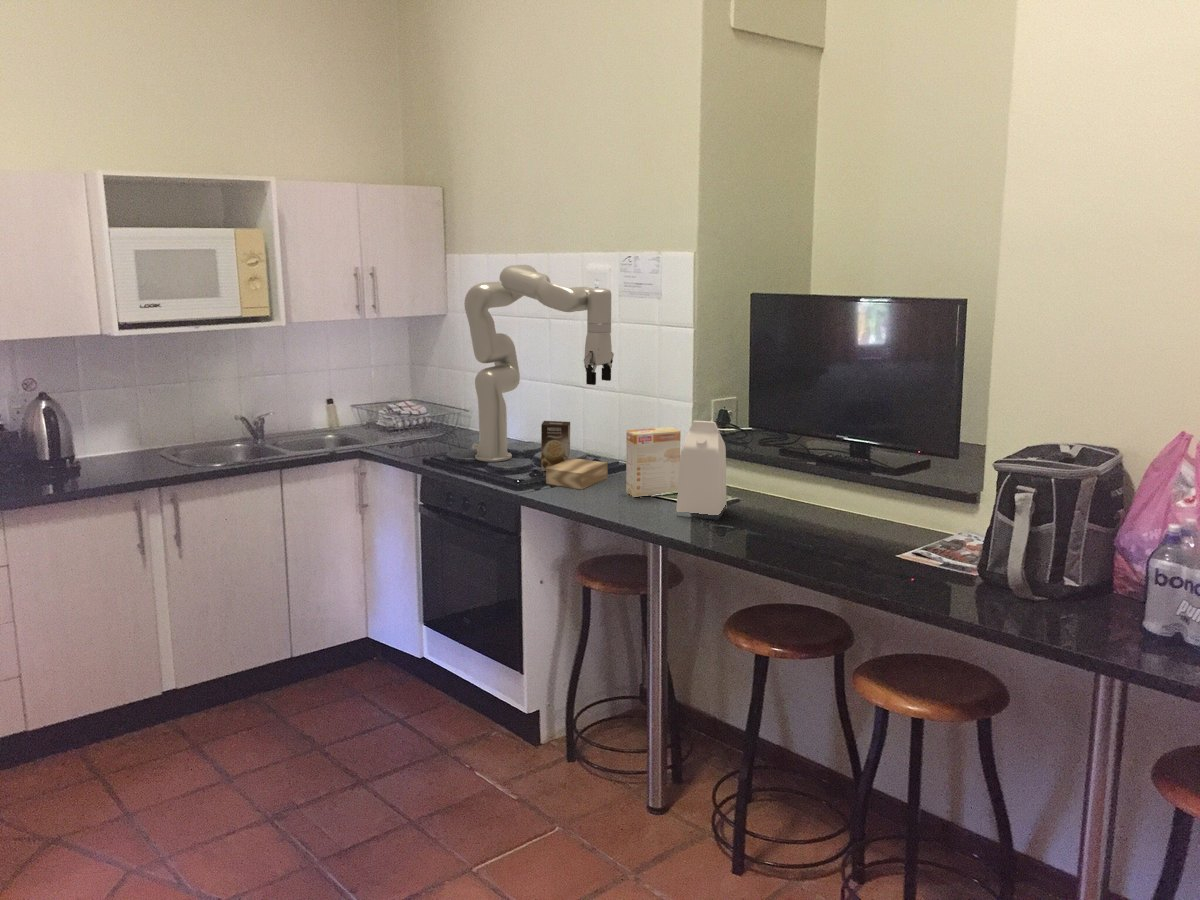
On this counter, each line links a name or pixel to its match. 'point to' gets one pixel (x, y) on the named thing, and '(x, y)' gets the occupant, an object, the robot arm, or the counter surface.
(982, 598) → the counter surface
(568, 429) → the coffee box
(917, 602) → the counter surface
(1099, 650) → the counter surface
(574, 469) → the oak block
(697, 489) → the milk
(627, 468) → the coffeecake box
